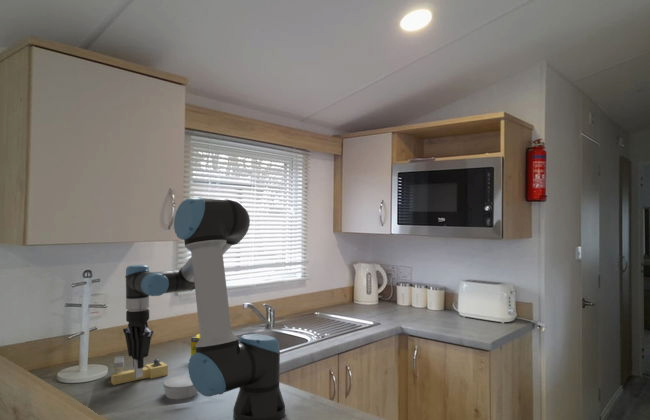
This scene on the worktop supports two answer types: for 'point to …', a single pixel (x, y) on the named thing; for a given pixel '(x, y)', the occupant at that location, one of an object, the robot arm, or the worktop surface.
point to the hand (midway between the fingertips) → (138, 377)
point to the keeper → (119, 364)
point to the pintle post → (156, 362)
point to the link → (147, 372)
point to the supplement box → (194, 343)
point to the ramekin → (179, 387)
